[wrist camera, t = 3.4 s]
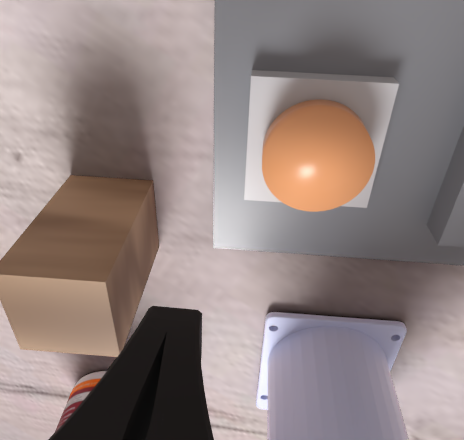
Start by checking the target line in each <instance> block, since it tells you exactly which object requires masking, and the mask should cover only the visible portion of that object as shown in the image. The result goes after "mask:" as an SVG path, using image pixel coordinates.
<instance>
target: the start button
mask: <svg viewBox="0 0 464 440" xmlns="http://www.w3.org/2000/svg"><path fill="white" fill-rule="evenodd" d="M374 165H375V149H374V145H373V142H372V140H371V138H370V136H369V134H368V132H367V130H366V128H365V126H364V124H363V122H362V120H361V119H360V118H359V116H358V115H357V114H356V113H355V112H354V111H352V110H351V109H350V108H348V107H347V106H345V105H343V104H340V103H338V102H335V101H331V100H323V99H317V100H308V101H304V102H301V103H298V104H296V105H293V106H291V107H290V108H288V109H286V110H285V111H284V112H282V113H281V114H280V115H279V116H278V117H277V118H276V119H275V120H274V121H273V122H272V124H271V125H270V127H269V128H268V130H267V133H266V135H265V138H264V141H263V148H262V172H263V177H264V180H265V183H266V185H267V187H268V188H269V190H270V191H271V193H272V194H273V195H274V196H275V197H276V198H277V199H278V200H279V201H281V202H282V203H284V204H286V205H288V206H290V207H292V208H295V209H298V210H302V211H309V212H318V211H326V210H331V209H334V208H337V207H339V206H342V205H344V204H346V203H347V202H349V201H351V200H352V199H353V198H355V197H356V196H357V195H358V194H359V193H360V192H361V191H362V190H363V189H364V188H365V186H366V185H367V183H368V182H369V180H370V178H371V176H372V173H373V170H374Z"/></svg>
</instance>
